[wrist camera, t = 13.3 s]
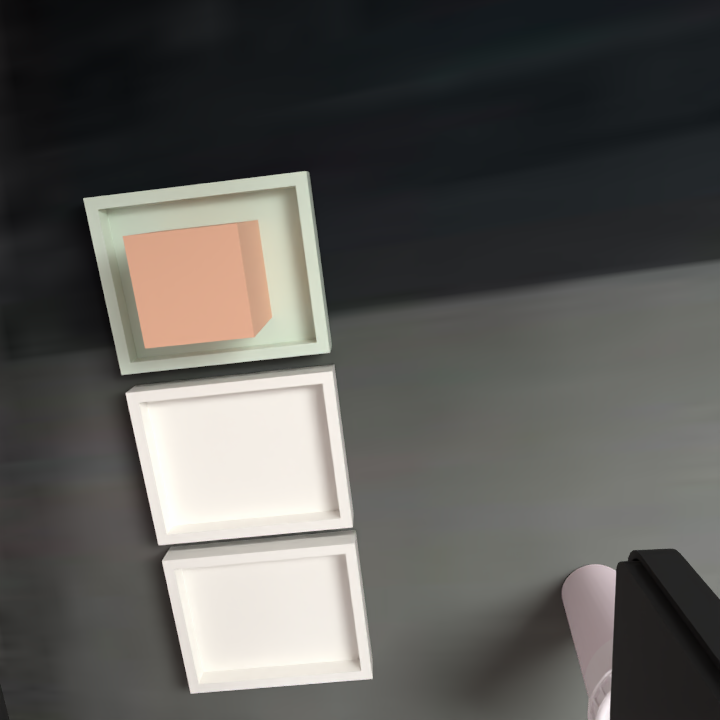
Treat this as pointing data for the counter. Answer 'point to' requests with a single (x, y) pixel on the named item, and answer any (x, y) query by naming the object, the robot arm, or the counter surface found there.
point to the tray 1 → (212, 207)
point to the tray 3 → (270, 611)
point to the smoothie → (593, 630)
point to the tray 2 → (243, 454)
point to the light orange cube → (199, 283)
